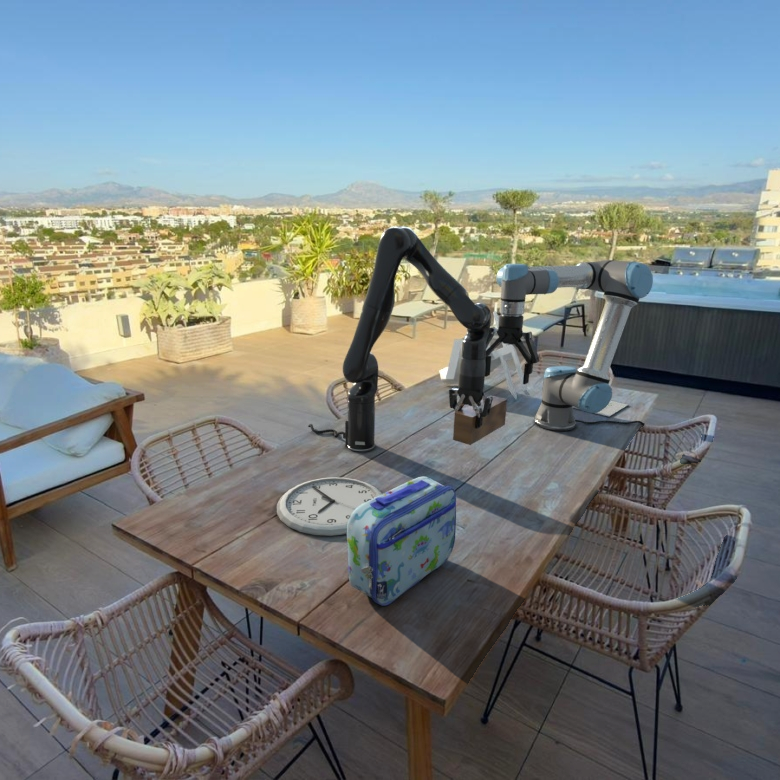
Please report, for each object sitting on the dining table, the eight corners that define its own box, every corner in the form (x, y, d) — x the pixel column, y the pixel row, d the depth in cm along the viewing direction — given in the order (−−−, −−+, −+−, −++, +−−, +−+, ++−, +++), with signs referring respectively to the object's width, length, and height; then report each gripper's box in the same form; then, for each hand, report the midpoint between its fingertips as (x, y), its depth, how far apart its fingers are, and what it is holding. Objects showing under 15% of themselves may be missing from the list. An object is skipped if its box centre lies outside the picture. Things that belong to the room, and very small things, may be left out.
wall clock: (392, 527, 129) (268, 531, 127) (391, 533, 130) (269, 537, 127) (383, 473, 158) (282, 475, 155) (383, 478, 158) (282, 480, 156)
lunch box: (376, 619, 101) (377, 524, 95) (340, 592, 109) (339, 502, 102) (459, 562, 119) (465, 479, 113) (424, 542, 126) (427, 463, 120)
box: (488, 420, 176) (490, 395, 174) (504, 424, 173) (507, 399, 170) (452, 439, 160) (454, 412, 157) (470, 445, 156) (472, 417, 153)
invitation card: (608, 416, 214) (573, 407, 224) (608, 416, 214) (573, 408, 224) (628, 404, 229) (594, 396, 238) (628, 405, 229) (594, 397, 238)
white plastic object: (461, 429, 252) (437, 405, 227) (444, 352, 274) (420, 323, 250) (535, 404, 240) (518, 377, 215) (510, 326, 262) (492, 293, 237)
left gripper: (444, 370, 155) (441, 422, 160) (487, 379, 147) (483, 434, 152) (457, 365, 161) (454, 416, 166) (500, 374, 152) (495, 427, 157)
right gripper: (470, 311, 168) (466, 375, 175) (545, 320, 154) (538, 389, 160) (481, 309, 174) (477, 370, 180) (554, 317, 160) (547, 383, 166)
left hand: (468, 425), depth 159 cm, fingers closed on box, 6 cm apart
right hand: (505, 379), depth 170 cm, fingers open, 13 cm apart
